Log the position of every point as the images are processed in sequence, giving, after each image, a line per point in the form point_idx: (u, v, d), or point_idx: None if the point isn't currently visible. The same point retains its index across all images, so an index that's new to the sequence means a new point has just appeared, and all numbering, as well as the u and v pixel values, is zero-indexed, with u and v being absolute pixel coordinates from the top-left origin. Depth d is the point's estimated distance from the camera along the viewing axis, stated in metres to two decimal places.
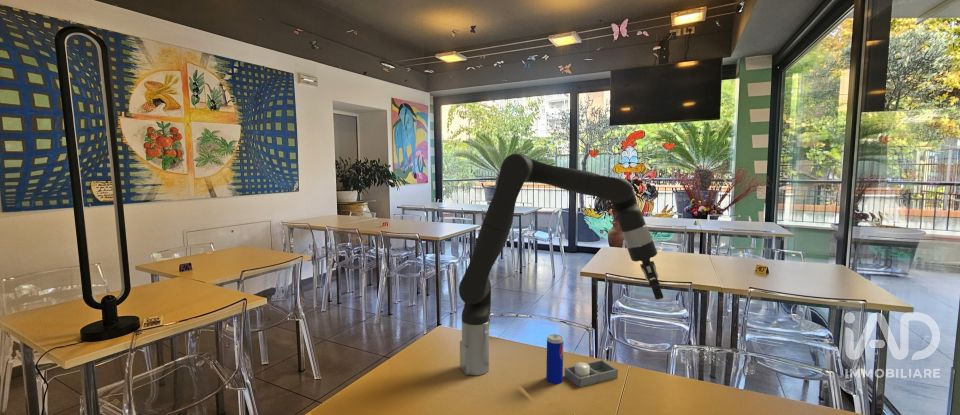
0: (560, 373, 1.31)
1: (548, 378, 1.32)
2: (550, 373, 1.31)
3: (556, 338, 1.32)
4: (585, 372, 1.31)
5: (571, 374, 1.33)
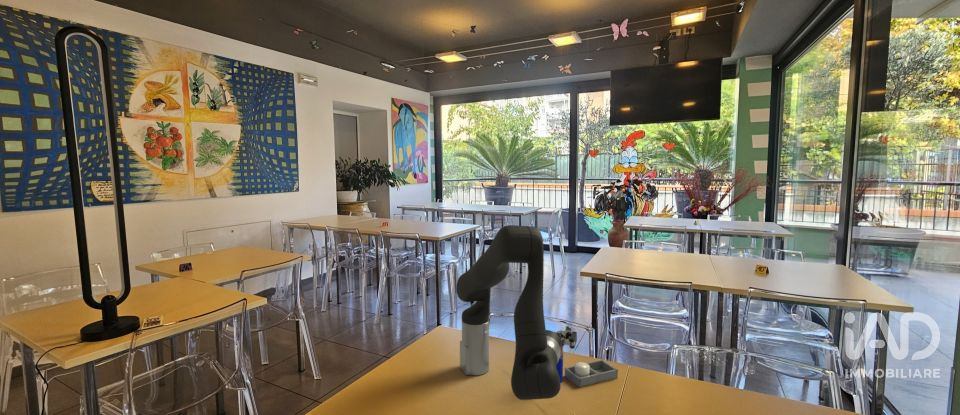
0: (560, 373, 1.31)
1: None
2: None
3: None
4: (585, 372, 1.31)
5: (571, 374, 1.33)
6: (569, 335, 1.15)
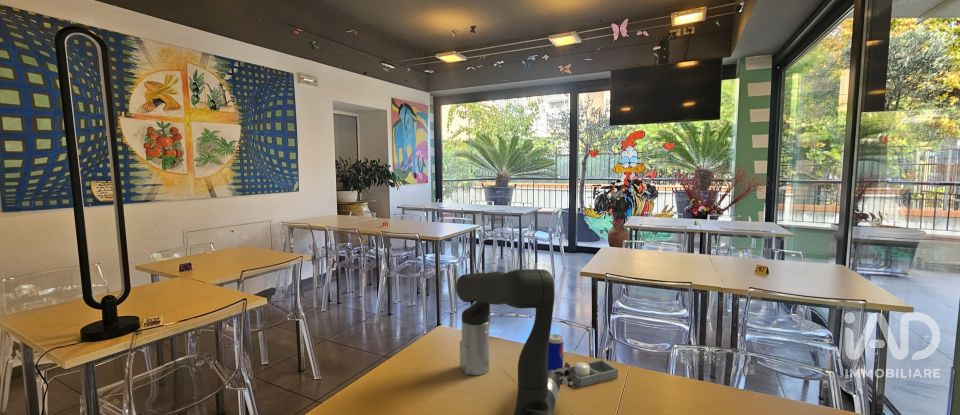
0: None
1: None
2: None
3: (556, 338, 1.32)
4: (585, 372, 1.31)
5: None
6: (567, 373, 1.21)
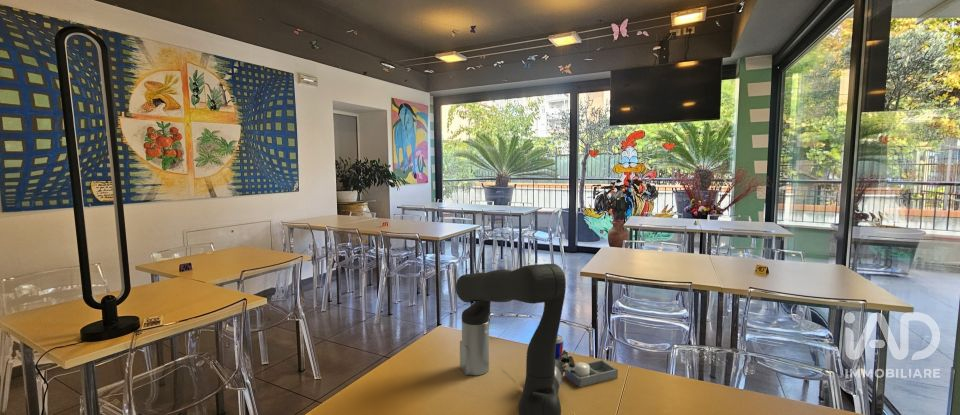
0: None
1: None
2: None
3: None
4: (585, 372, 1.31)
5: (571, 374, 1.33)
6: (566, 359, 1.29)
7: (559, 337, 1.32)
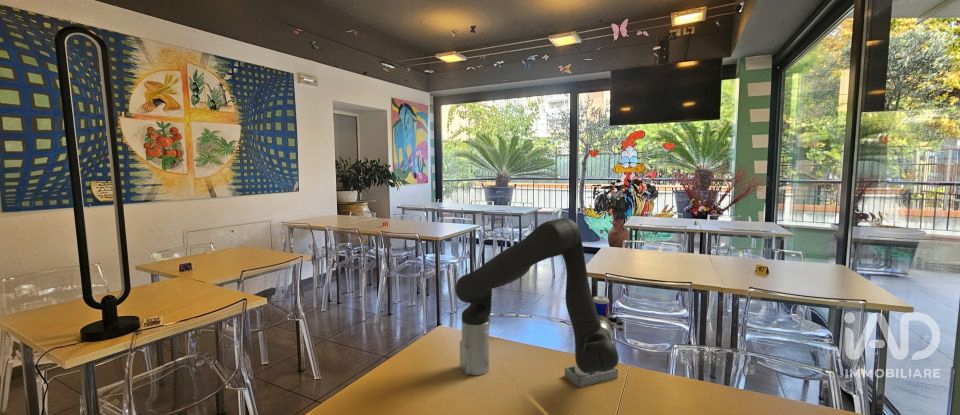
0: None
1: None
2: None
3: (602, 299, 1.33)
4: None
5: (571, 374, 1.33)
6: (612, 319, 1.31)
7: (605, 298, 1.34)
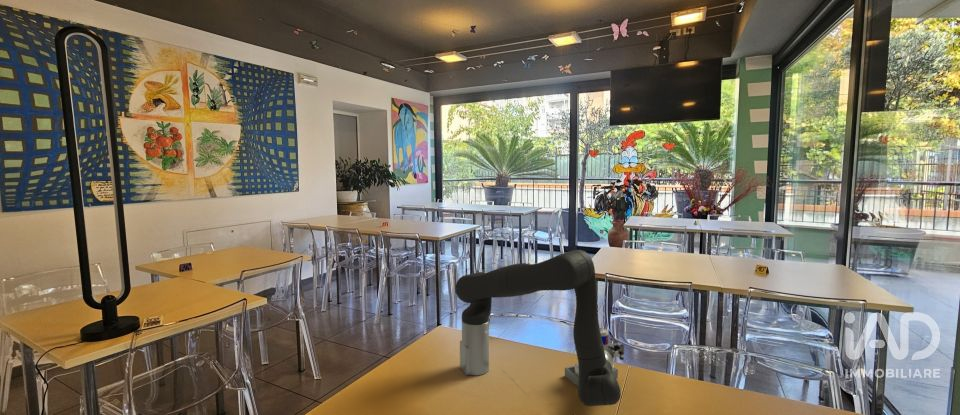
0: None
1: None
2: None
3: (601, 331, 1.35)
4: None
5: (571, 374, 1.33)
6: (617, 347, 1.31)
7: (604, 330, 1.35)
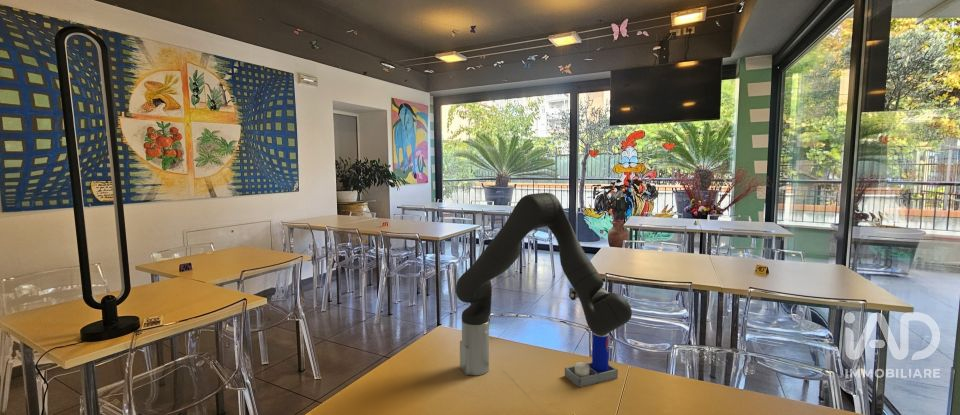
0: (606, 366, 1.34)
1: None
2: (597, 366, 1.34)
3: None
4: (585, 372, 1.31)
5: (571, 374, 1.33)
6: None
7: None
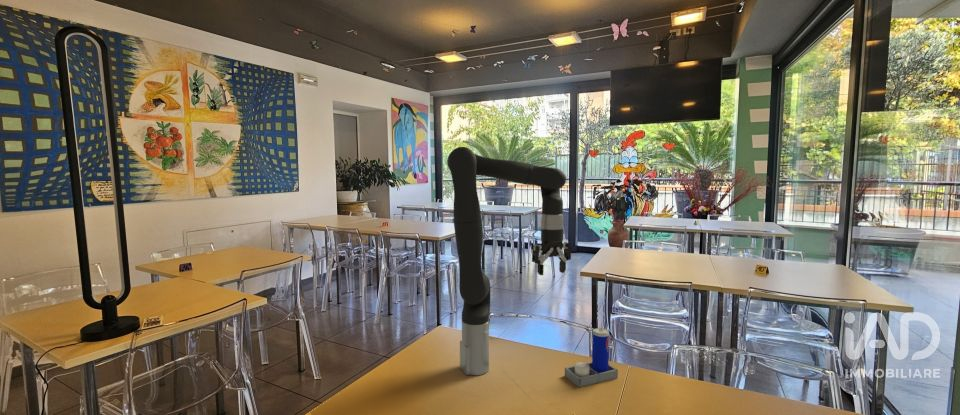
0: (606, 366, 1.34)
1: None
2: (597, 366, 1.34)
3: (602, 332, 1.35)
4: (585, 372, 1.31)
5: (571, 374, 1.33)
6: (563, 257, 1.46)
7: (605, 331, 1.35)
